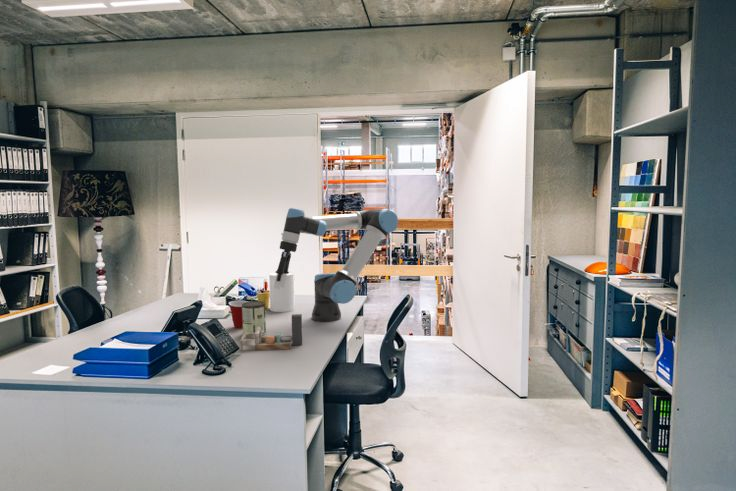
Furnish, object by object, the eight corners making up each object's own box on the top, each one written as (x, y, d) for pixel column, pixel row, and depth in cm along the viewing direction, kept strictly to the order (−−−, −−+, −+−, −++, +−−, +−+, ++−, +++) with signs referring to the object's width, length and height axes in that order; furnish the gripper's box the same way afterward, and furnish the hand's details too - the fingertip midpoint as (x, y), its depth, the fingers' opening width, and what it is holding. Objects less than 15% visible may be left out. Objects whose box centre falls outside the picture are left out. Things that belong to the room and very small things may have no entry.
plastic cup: (246, 330, 220) (245, 305, 219) (224, 329, 222) (224, 304, 221) (256, 324, 231) (255, 300, 230) (235, 323, 233) (235, 299, 232)
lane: (292, 340, 205) (291, 325, 204) (290, 348, 193) (290, 333, 192) (244, 341, 203) (244, 326, 202) (240, 350, 191) (239, 334, 190)
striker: (302, 341, 201) (301, 314, 200) (301, 344, 197) (301, 316, 196) (277, 342, 200) (277, 314, 199) (276, 345, 196) (276, 317, 195)
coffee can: (250, 330, 221) (250, 300, 220) (270, 332, 218) (269, 301, 217) (238, 336, 211) (237, 305, 210) (258, 338, 208) (257, 306, 207)
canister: (282, 305, 274) (282, 271, 272) (299, 308, 266) (299, 273, 264) (265, 309, 263) (264, 274, 261) (282, 313, 255) (281, 276, 253)
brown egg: (275, 343, 200) (275, 334, 200) (275, 346, 196) (274, 336, 196) (266, 343, 200) (266, 334, 199) (265, 346, 196) (265, 337, 195)
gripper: (284, 241, 228) (274, 284, 227) (277, 238, 203) (266, 287, 202) (299, 245, 228) (290, 288, 227) (294, 242, 203) (283, 291, 202)
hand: (278, 287), depth 214 cm, fingers open, 13 cm apart
